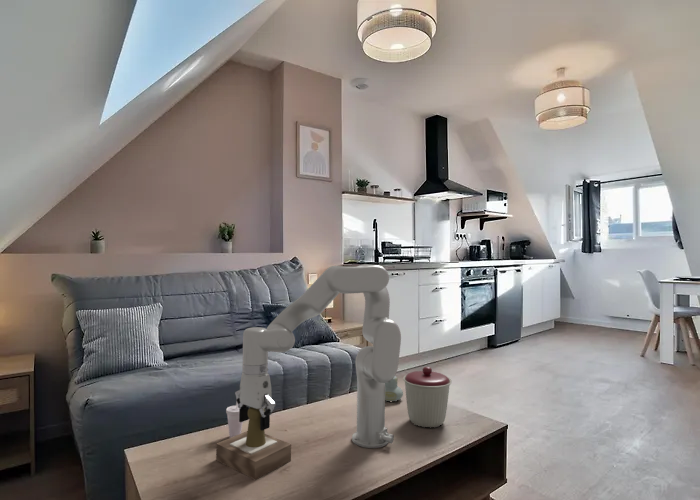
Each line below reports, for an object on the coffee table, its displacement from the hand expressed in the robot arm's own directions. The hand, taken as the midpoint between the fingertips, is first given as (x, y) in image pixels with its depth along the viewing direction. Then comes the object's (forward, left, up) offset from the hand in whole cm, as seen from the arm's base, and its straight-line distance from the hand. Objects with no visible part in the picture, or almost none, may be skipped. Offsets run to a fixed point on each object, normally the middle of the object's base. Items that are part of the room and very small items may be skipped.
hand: (254, 424), depth 128 cm
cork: (-1, 0, -6) cm, 6 cm away
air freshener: (-4, -73, -11) cm, 74 cm away
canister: (-28, -60, -11) cm, 67 cm away
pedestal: (0, 0, -11) cm, 11 cm away
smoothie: (+18, -7, -11) cm, 22 cm away
